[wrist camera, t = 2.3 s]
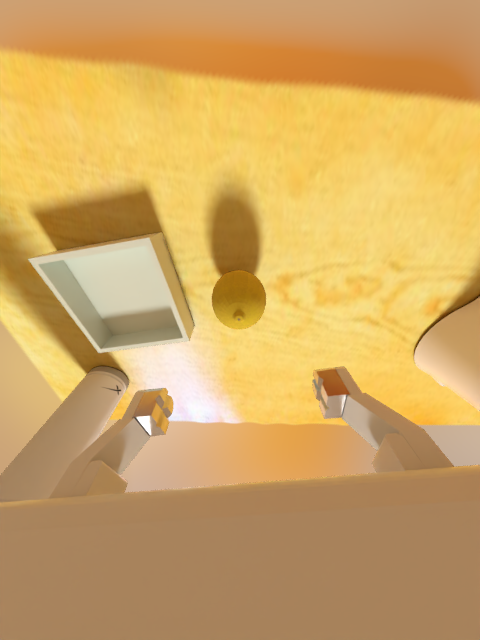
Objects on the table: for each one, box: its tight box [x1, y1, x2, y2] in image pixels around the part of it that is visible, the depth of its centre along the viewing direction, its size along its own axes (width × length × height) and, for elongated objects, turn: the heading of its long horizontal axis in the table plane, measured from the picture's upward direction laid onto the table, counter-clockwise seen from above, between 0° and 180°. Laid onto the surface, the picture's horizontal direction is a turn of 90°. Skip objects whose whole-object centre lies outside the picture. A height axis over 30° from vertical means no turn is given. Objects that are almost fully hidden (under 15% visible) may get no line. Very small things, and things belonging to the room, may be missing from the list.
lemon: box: [212, 270, 266, 329], centre depth 20 cm, size 6×6×8 cm
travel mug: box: [0, 366, 129, 502], centre depth 23 cm, size 6×7×20 cm
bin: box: [28, 232, 195, 353], centre depth 22 cm, size 12×12×3 cm
